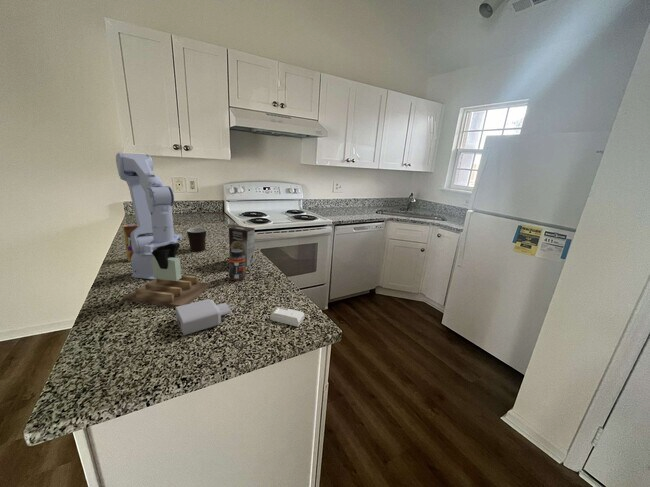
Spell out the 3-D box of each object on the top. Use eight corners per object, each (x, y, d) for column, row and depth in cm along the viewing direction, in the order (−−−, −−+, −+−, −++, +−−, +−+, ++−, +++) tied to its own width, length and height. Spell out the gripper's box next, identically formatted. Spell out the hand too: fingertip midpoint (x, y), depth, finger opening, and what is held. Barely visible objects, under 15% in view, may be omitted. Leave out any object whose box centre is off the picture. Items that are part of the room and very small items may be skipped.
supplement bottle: (240, 282, 102) (240, 254, 98) (226, 279, 103) (225, 251, 99) (248, 276, 107) (247, 249, 104) (234, 274, 108) (233, 247, 105)
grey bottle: (240, 319, 79) (184, 337, 69) (229, 306, 85) (176, 320, 76) (240, 305, 77) (182, 321, 68) (228, 292, 84) (174, 305, 75)
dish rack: (122, 300, 84) (120, 290, 83) (159, 279, 99) (158, 270, 98) (182, 308, 82) (181, 298, 81) (210, 286, 97) (210, 277, 96)
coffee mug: (202, 253, 128) (201, 233, 125) (184, 251, 128) (183, 231, 125) (212, 246, 139) (212, 227, 137) (196, 244, 139) (195, 226, 137)
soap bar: (298, 327, 77) (298, 319, 76) (269, 321, 79) (270, 313, 79) (304, 319, 82) (304, 311, 81) (277, 312, 84) (277, 305, 83)
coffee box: (229, 263, 119) (227, 227, 114) (237, 258, 125) (236, 224, 120) (247, 266, 117) (246, 230, 112) (255, 261, 123) (254, 227, 118)
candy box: (127, 262, 112) (122, 226, 108) (127, 258, 115) (122, 224, 111) (153, 259, 117) (148, 224, 113) (152, 255, 121) (148, 222, 116)
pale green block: (153, 278, 88) (151, 258, 86) (159, 275, 90) (156, 255, 88) (176, 280, 87) (174, 260, 85) (181, 277, 90) (179, 258, 88)
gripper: (158, 232, 76) (162, 276, 80) (189, 222, 90) (191, 260, 94) (135, 230, 77) (141, 274, 81) (169, 220, 91) (173, 258, 95)
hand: (167, 266), depth 88 cm, fingers closed on pale green block, 2 cm apart
